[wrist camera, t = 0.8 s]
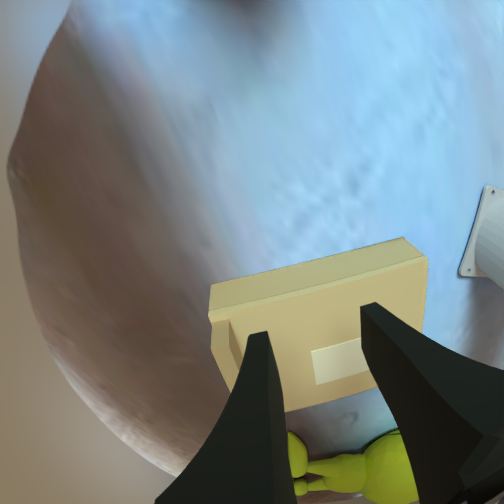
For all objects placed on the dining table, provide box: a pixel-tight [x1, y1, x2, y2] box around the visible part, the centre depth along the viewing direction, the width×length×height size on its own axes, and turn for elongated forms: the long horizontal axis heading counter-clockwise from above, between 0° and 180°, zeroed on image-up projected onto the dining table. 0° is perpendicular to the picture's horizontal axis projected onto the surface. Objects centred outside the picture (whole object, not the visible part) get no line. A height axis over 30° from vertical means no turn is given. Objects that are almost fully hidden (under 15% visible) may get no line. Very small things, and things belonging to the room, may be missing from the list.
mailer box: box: [209, 237, 424, 311], centre depth 22 cm, size 14×11×3 cm
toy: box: [288, 430, 419, 504], centre depth 29 cm, size 20×10×30 cm
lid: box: [208, 255, 428, 412], centre depth 19 cm, size 14×11×3 cm
